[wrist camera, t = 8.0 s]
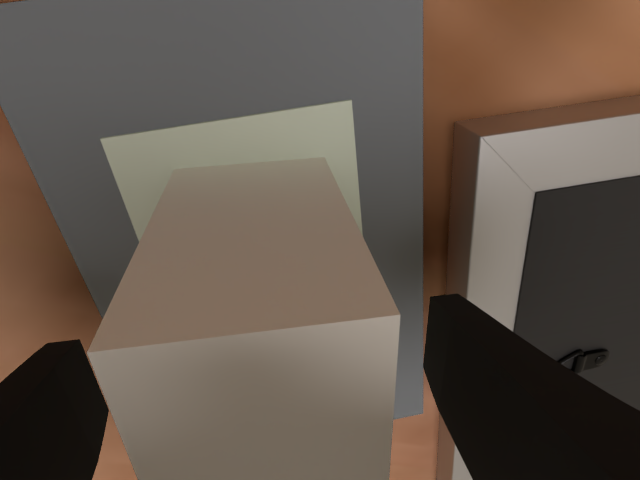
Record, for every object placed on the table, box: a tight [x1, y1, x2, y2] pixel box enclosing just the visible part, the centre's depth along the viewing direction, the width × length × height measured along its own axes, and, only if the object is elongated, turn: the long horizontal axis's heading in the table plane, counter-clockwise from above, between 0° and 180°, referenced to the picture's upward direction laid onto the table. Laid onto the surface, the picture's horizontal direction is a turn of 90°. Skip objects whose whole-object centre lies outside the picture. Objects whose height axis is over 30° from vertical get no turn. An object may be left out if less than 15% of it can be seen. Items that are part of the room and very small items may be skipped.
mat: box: [0, 0, 423, 420], centre depth 12 cm, size 14×9×1 cm, turn 7°
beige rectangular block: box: [87, 157, 400, 480], centre depth 9 cm, size 4×6×6 cm, turn 2°
